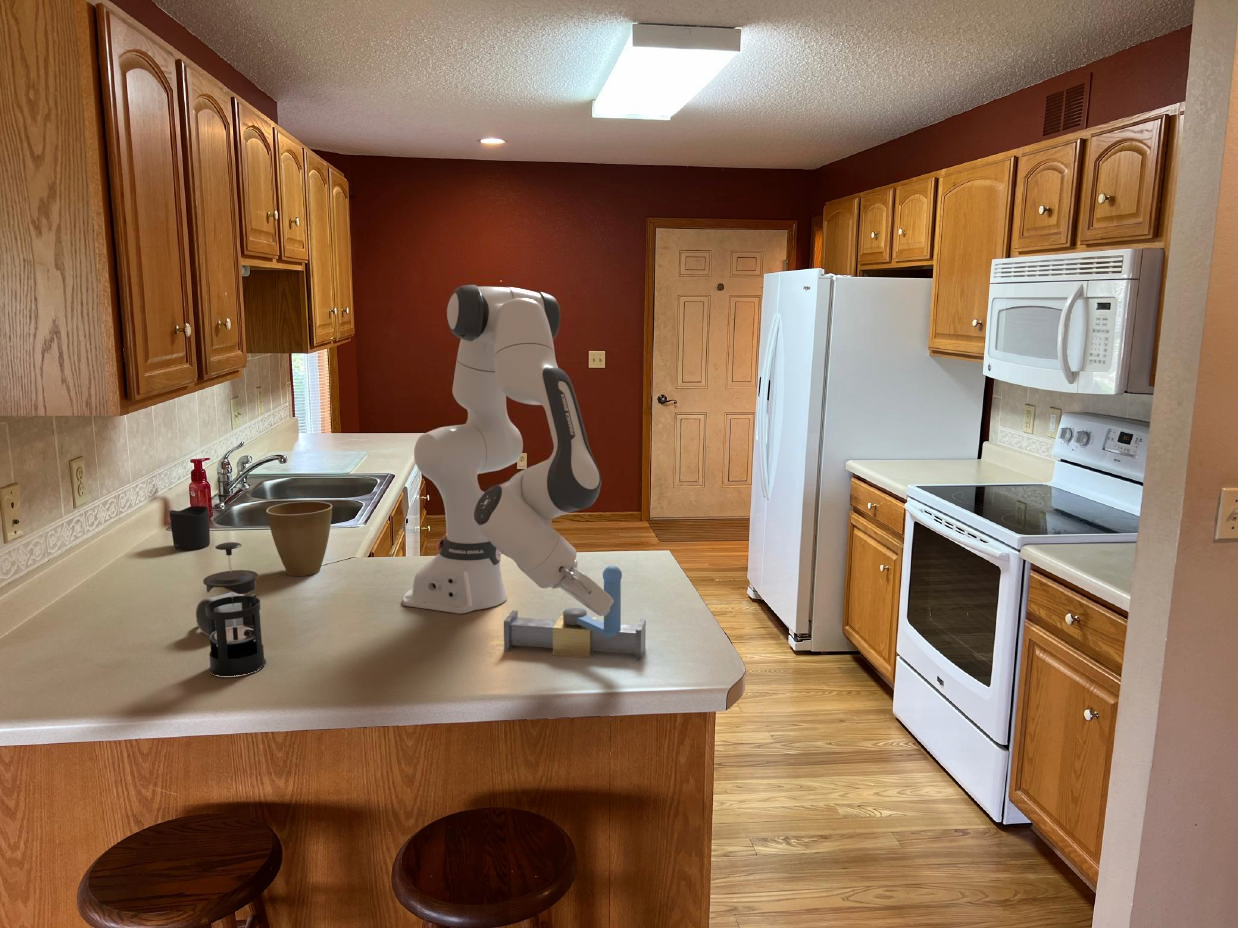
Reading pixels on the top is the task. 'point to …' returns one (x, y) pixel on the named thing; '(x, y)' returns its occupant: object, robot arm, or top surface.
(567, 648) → the valve pipe
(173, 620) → the top surface
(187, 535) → the pen holder
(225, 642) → the french press
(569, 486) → the robot arm
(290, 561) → the plant pot
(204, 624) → the ceramic mug
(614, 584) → the lever
